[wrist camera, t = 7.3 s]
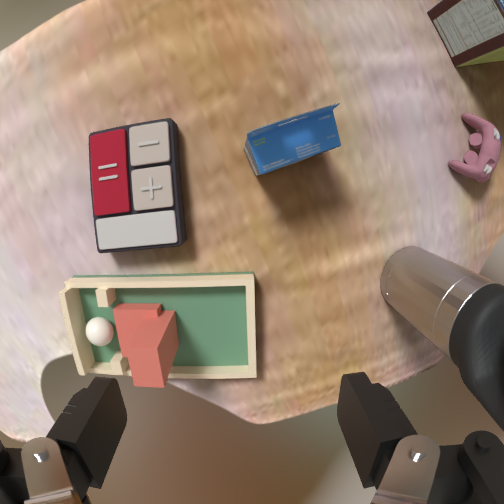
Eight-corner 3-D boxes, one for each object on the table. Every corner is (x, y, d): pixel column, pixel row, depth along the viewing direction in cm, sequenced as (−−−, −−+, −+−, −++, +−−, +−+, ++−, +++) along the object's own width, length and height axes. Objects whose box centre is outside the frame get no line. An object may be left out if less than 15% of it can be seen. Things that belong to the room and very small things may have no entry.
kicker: (173, 303, 40) (155, 339, 30) (180, 350, 41) (165, 394, 31) (118, 303, 39) (88, 336, 30) (127, 349, 41) (102, 389, 31)
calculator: (171, 115, 33) (181, 247, 35) (178, 123, 37) (187, 241, 40) (85, 132, 33) (94, 254, 35) (99, 137, 37) (108, 249, 39)
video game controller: (455, 178, 40) (493, 190, 35) (444, 165, 38) (486, 176, 32) (470, 124, 38) (507, 132, 33) (460, 109, 36) (500, 115, 30)
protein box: (504, 61, 34) (562, 43, 19) (454, 68, 35) (519, 41, 20) (479, 11, 32) (530, -17, 17) (424, 11, 33) (478, -30, 18)
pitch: (253, 271, 40) (254, 284, 36) (255, 365, 43) (257, 386, 39) (74, 275, 40) (57, 286, 35) (93, 362, 43) (80, 379, 38)
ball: (91, 326, 35) (78, 318, 37) (97, 354, 36) (84, 344, 38) (116, 317, 38) (101, 310, 41) (121, 344, 39) (107, 335, 42)
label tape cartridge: (254, 177, 38) (261, 176, 26) (242, 148, 37) (244, 133, 25) (321, 153, 38) (356, 142, 26) (310, 124, 37) (340, 101, 25)
